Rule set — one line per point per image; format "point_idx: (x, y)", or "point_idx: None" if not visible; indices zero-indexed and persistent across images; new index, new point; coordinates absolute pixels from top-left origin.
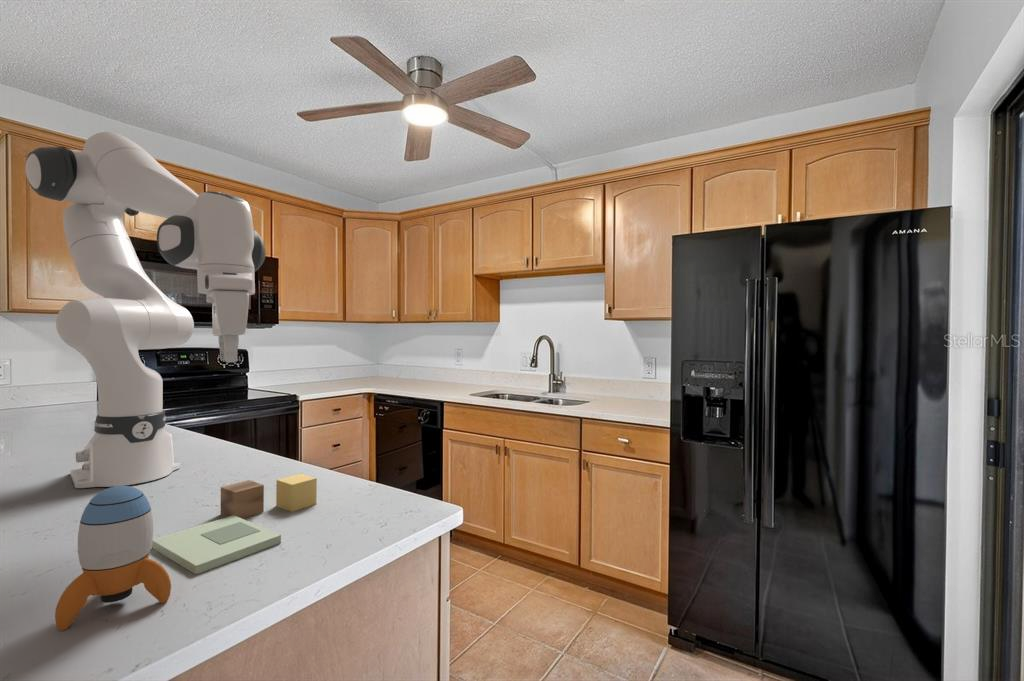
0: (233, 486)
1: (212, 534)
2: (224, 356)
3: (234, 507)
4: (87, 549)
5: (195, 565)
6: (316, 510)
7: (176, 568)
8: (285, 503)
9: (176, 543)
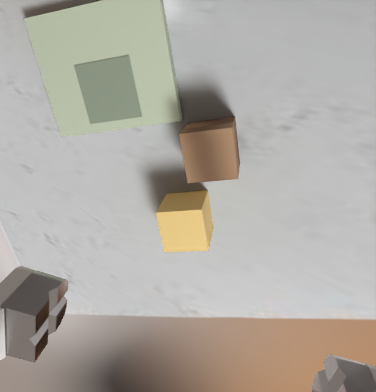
0: (218, 144)
1: (115, 68)
2: (335, 386)
3: (186, 127)
4: None
5: (24, 18)
6: (147, 216)
7: (64, 3)
8: (180, 196)
9: (117, 16)
